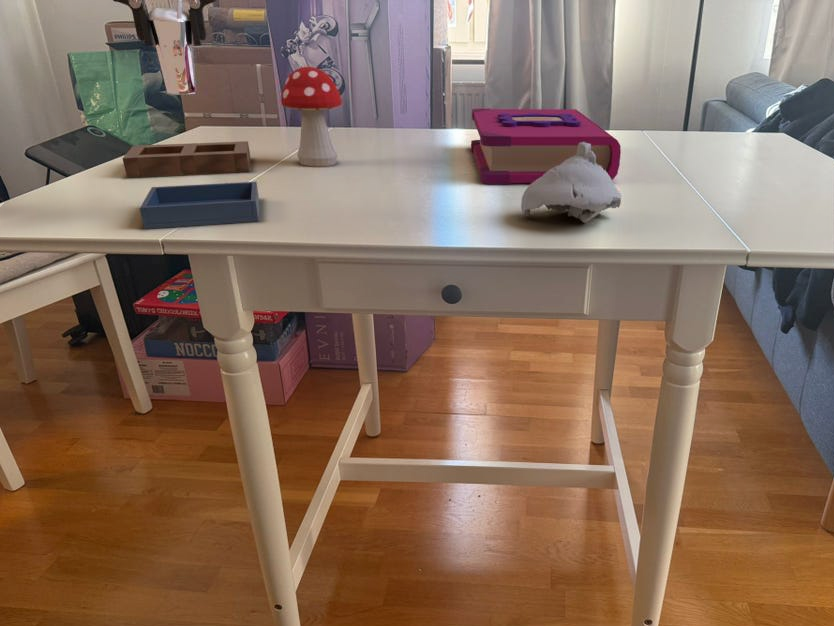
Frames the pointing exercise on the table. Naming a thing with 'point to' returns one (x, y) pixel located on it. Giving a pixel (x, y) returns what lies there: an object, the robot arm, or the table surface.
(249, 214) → the tray
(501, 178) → the book
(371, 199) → the table surface
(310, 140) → the decorative mushroom
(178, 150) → the tray
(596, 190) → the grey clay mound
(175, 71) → the milkshake
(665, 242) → the table surface
